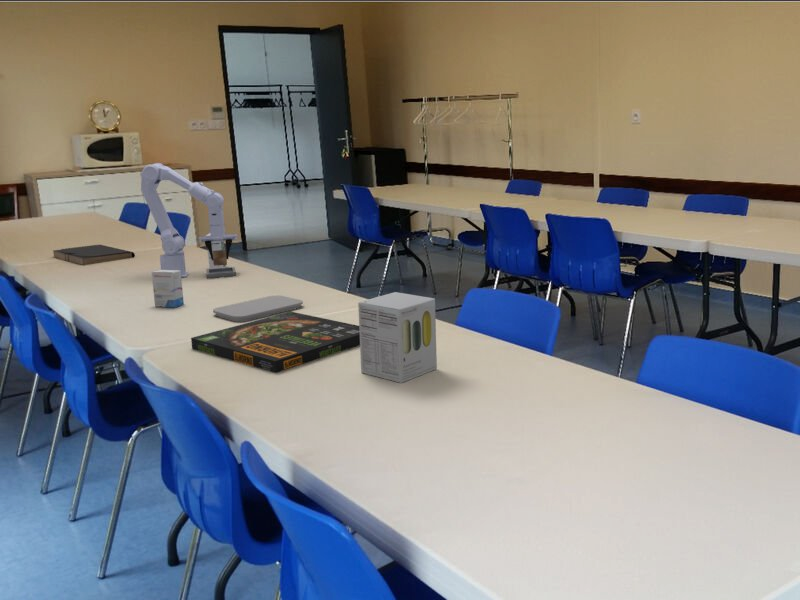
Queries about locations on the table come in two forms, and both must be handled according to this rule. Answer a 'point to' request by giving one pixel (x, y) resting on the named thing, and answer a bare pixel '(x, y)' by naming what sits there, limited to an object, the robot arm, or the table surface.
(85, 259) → the file folder
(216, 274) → the grey dish
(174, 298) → the ink box
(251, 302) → the tablet
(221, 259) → the walnut cube
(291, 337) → the pizza box
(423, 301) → the supplement box
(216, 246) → the syrup box
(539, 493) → the table surface
